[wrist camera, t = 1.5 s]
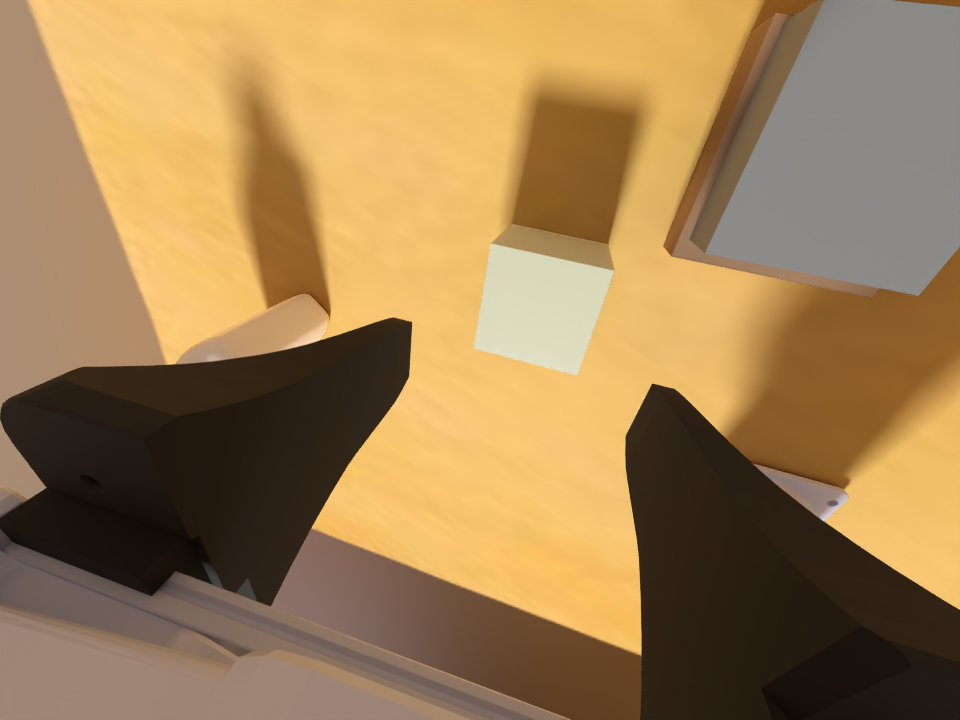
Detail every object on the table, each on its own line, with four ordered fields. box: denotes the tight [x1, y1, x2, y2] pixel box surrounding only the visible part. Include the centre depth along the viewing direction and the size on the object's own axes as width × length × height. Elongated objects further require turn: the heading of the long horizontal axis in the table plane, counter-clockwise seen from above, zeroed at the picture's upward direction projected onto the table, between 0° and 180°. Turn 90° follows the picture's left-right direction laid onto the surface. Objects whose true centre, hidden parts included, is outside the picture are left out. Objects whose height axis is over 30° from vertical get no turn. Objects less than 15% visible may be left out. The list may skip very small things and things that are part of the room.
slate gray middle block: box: [689, 0, 960, 296], centre depth 12 cm, size 7×7×2 cm
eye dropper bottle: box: [176, 294, 329, 364], centre depth 21 cm, size 4×6×12 cm
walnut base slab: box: [663, 13, 880, 298], centre depth 14 cm, size 8×8×2 cm
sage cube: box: [474, 224, 614, 376], centre depth 18 cm, size 5×5×5 cm
